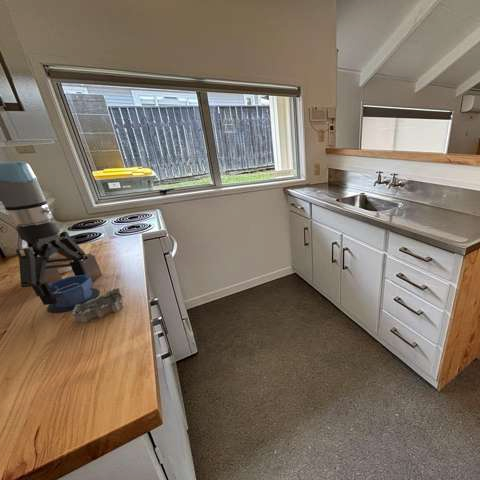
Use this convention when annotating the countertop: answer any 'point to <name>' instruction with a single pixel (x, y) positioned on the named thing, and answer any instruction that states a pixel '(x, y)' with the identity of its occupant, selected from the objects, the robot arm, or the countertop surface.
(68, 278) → the bowl
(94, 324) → the countertop surface
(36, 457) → the countertop surface
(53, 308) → the mat
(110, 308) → the egg carton
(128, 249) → the countertop surface
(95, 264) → the rack
